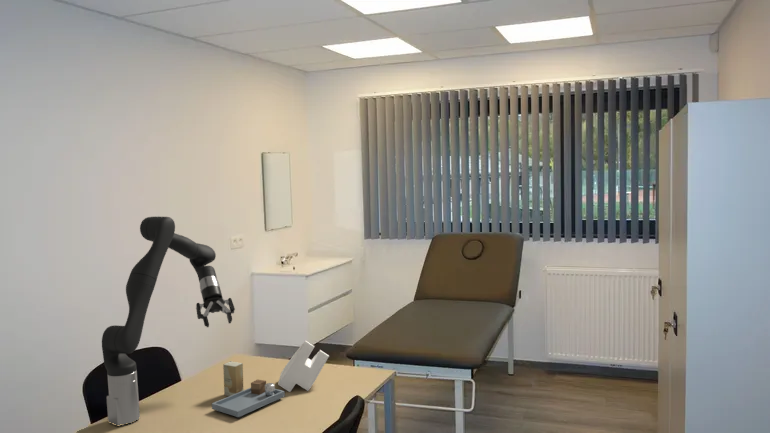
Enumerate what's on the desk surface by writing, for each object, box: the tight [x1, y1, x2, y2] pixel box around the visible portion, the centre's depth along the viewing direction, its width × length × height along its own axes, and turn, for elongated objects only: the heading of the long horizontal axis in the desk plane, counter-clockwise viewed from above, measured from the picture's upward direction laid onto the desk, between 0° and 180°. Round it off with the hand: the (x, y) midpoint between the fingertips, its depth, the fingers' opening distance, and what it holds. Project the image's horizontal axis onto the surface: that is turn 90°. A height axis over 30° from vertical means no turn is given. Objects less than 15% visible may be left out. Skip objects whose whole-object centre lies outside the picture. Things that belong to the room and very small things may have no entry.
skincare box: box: [222, 361, 244, 397], centre depth 228 cm, size 6×4×12 cm
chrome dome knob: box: [265, 382, 276, 397], centre depth 221 cm, size 4×4×4 cm
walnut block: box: [250, 379, 267, 395], centre depth 225 cm, size 4×4×4 cm
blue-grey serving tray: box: [211, 387, 286, 419], centre depth 217 cm, size 22×14×3 cm, turn 144°
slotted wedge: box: [277, 340, 330, 393], centre depth 236 cm, size 14×11×18 cm
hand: (219, 324), depth 233 cm, fingers open, 8 cm apart
